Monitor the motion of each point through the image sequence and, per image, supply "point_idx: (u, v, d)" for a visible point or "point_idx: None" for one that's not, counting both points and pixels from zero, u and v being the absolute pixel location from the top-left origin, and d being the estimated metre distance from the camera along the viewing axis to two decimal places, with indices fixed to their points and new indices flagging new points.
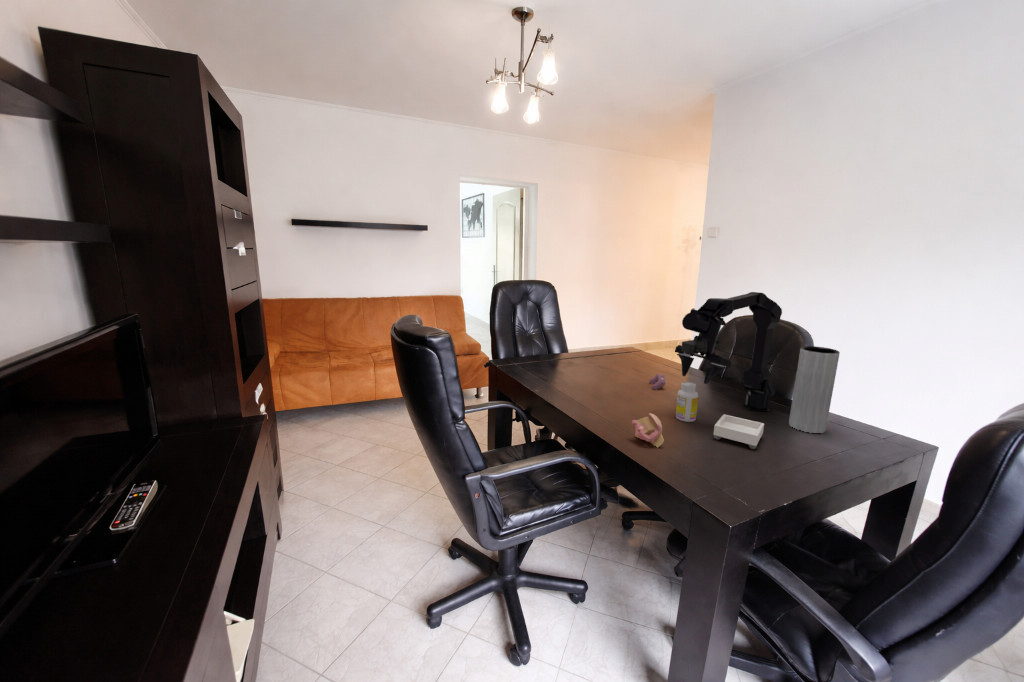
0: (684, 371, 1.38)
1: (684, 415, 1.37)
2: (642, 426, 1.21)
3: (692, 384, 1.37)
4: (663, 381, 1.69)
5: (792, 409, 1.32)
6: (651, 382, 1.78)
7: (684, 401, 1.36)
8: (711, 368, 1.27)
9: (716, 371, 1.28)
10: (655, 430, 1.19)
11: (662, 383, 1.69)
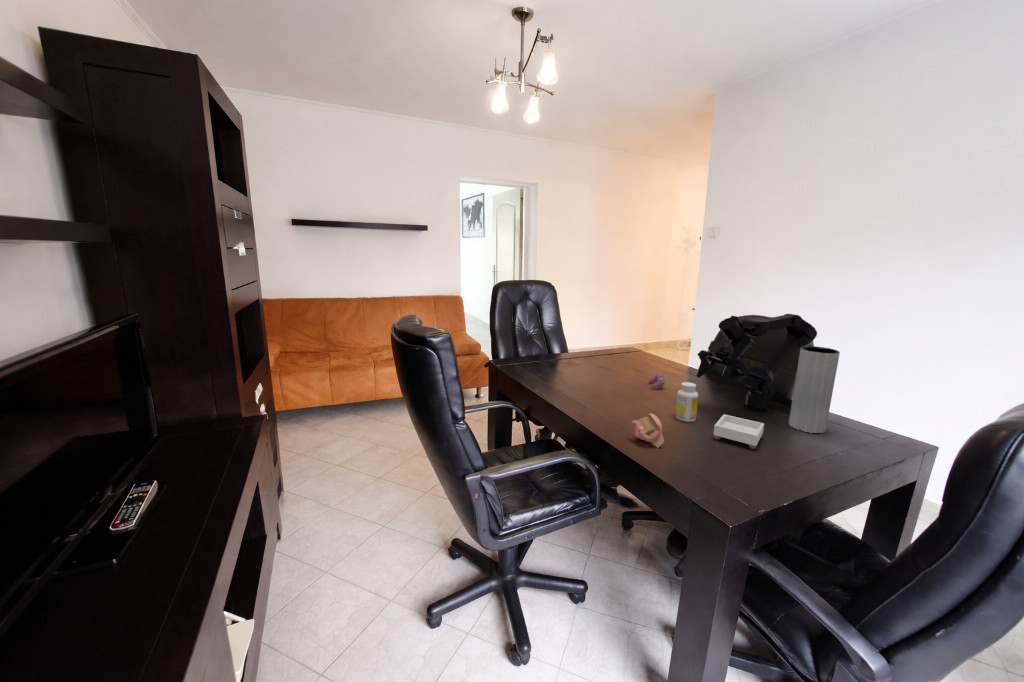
0: (700, 373, 1.43)
1: (684, 415, 1.37)
2: (642, 426, 1.21)
3: (692, 384, 1.37)
4: (662, 381, 1.69)
5: (792, 409, 1.32)
6: (650, 382, 1.78)
7: (684, 401, 1.36)
8: (729, 371, 1.33)
9: (732, 377, 1.34)
10: (655, 430, 1.19)
11: (661, 383, 1.69)
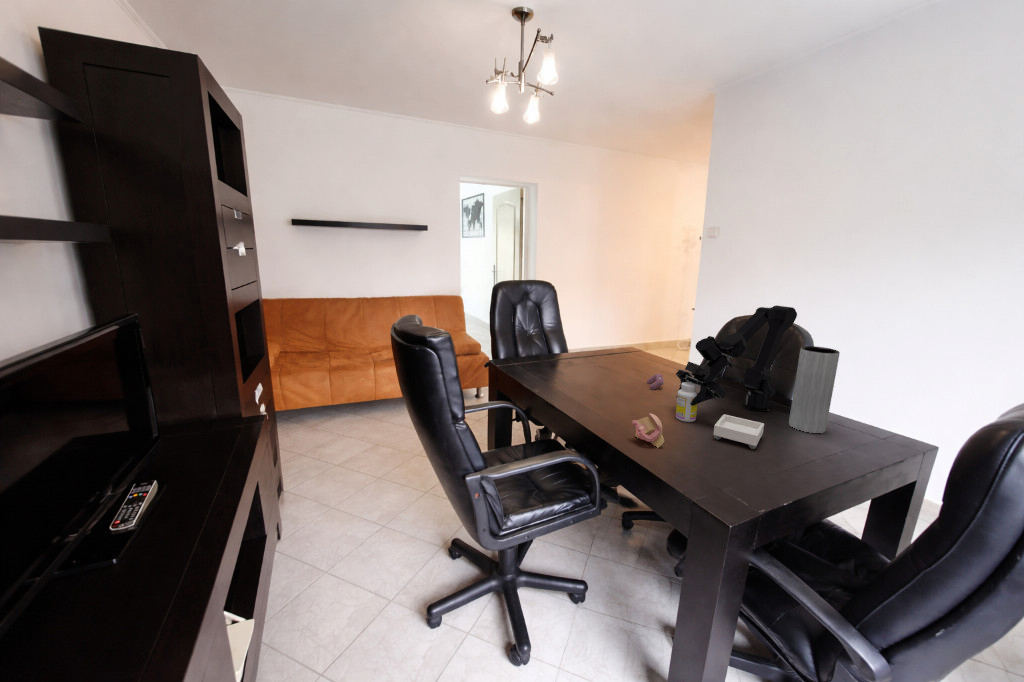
0: None
1: (684, 415, 1.37)
2: (642, 426, 1.21)
3: (692, 384, 1.37)
4: (661, 381, 1.69)
5: (792, 409, 1.32)
6: (649, 382, 1.78)
7: (684, 401, 1.36)
8: (703, 391, 1.33)
9: (705, 398, 1.34)
10: (655, 430, 1.19)
11: (660, 383, 1.69)
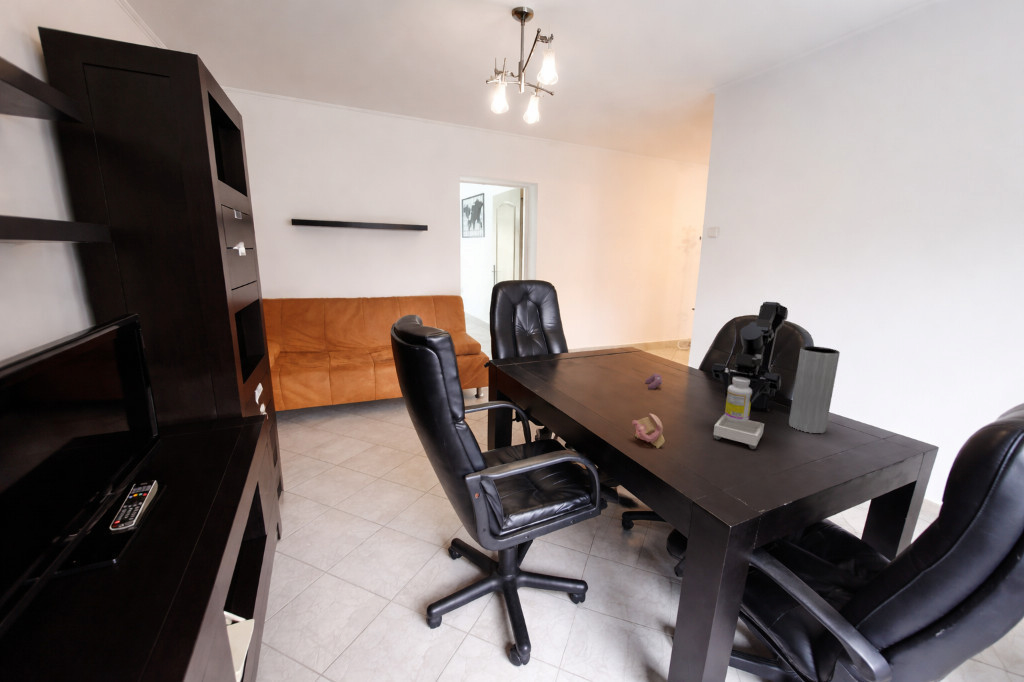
0: None
1: (742, 414, 1.20)
2: (643, 426, 1.21)
3: (745, 378, 1.21)
4: (659, 381, 1.69)
5: (792, 409, 1.32)
6: (647, 382, 1.78)
7: (743, 399, 1.19)
8: (761, 385, 1.19)
9: (760, 391, 1.21)
10: (656, 430, 1.19)
11: (658, 383, 1.69)
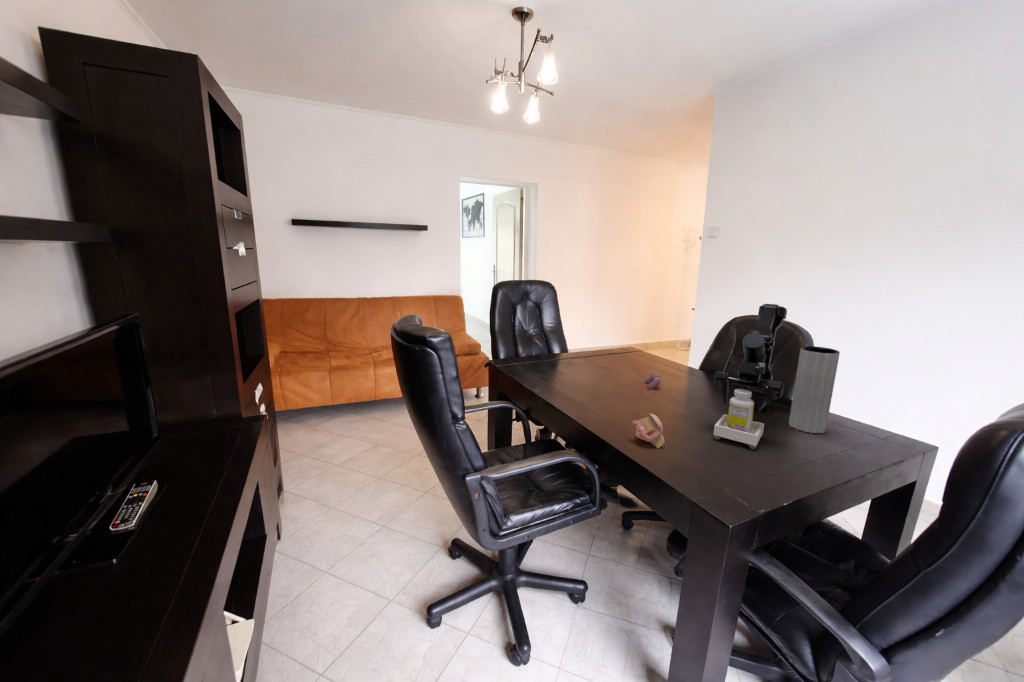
0: (726, 398, 1.24)
1: (745, 427, 1.20)
2: (643, 426, 1.21)
3: (747, 391, 1.22)
4: (658, 381, 1.69)
5: (792, 409, 1.32)
6: (646, 382, 1.78)
7: (746, 412, 1.19)
8: (769, 394, 1.18)
9: (767, 400, 1.20)
10: (656, 430, 1.19)
11: (657, 383, 1.69)
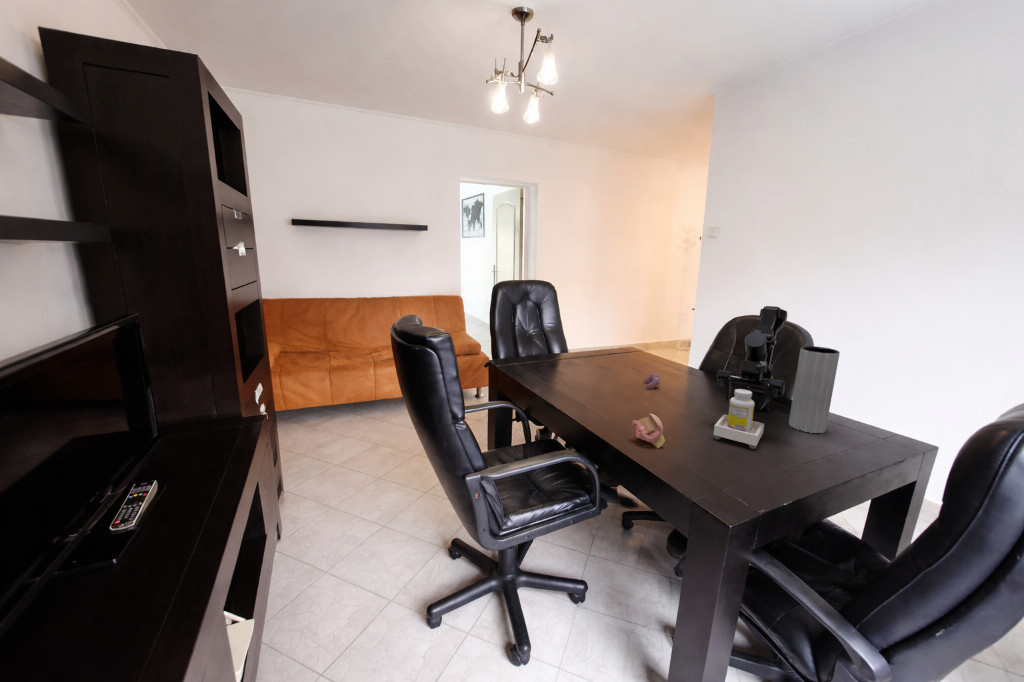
0: (728, 396, 1.27)
1: (745, 427, 1.20)
2: (643, 426, 1.21)
3: (747, 391, 1.22)
4: (657, 381, 1.69)
5: (792, 409, 1.32)
6: (646, 382, 1.78)
7: (746, 411, 1.19)
8: (770, 392, 1.21)
9: (769, 398, 1.23)
10: (656, 430, 1.19)
11: (656, 383, 1.69)
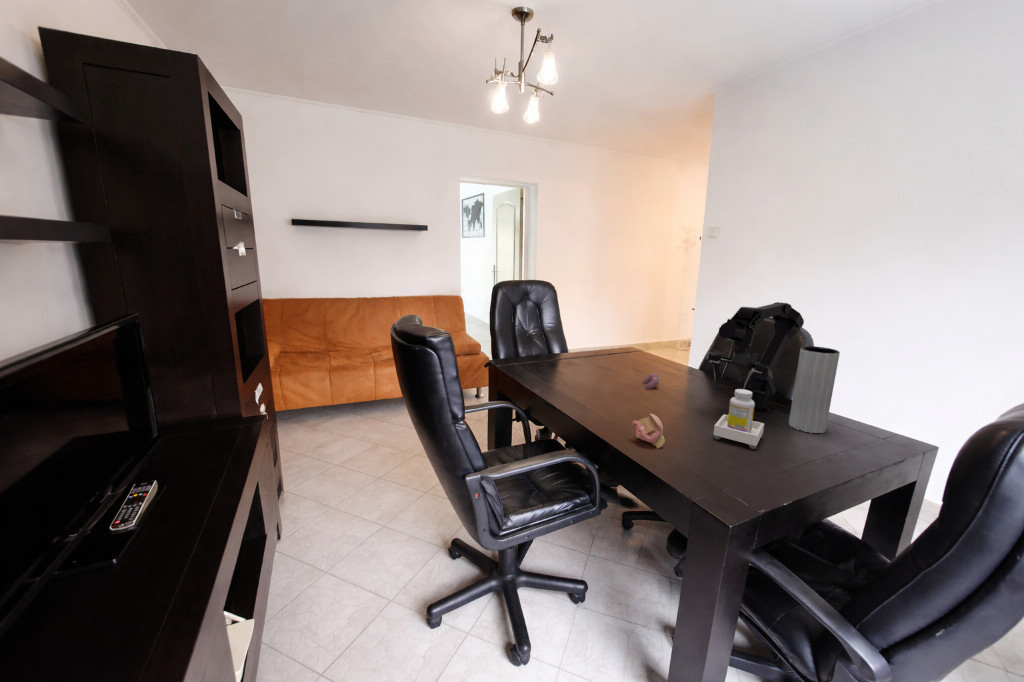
0: None
1: (745, 427, 1.20)
2: (643, 427, 1.21)
3: (747, 391, 1.22)
4: (657, 381, 1.69)
5: (792, 409, 1.32)
6: (645, 382, 1.78)
7: (746, 412, 1.19)
8: (755, 376, 1.35)
9: None
10: (656, 430, 1.19)
11: (656, 383, 1.69)
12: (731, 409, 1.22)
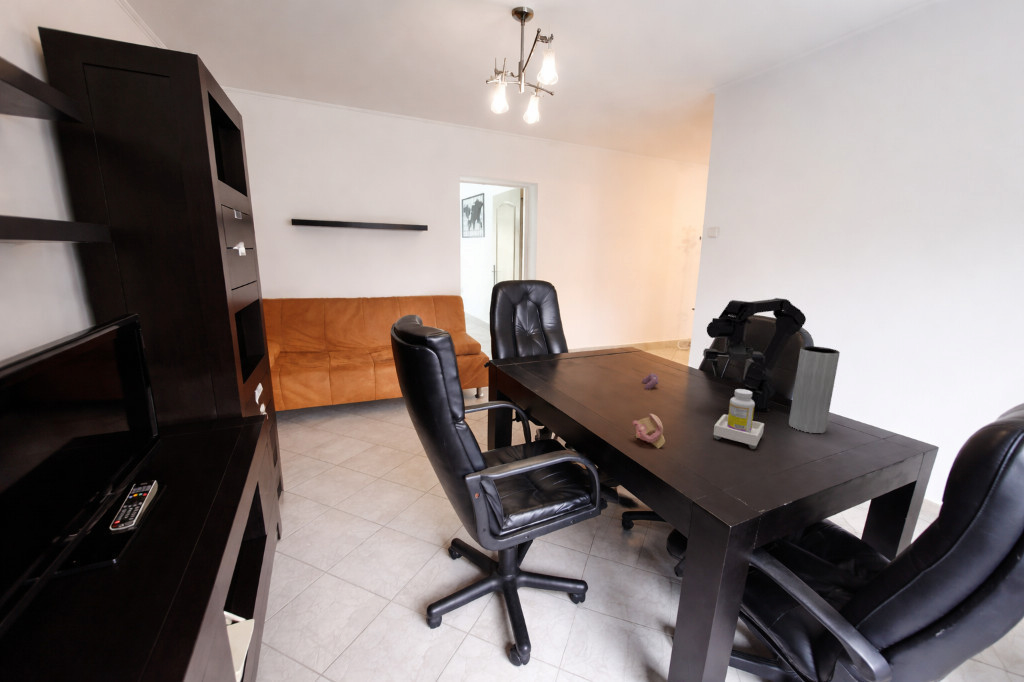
0: None
1: (745, 427, 1.20)
2: (643, 427, 1.21)
3: (747, 391, 1.22)
4: (656, 381, 1.69)
5: (792, 409, 1.32)
6: (644, 382, 1.78)
7: (746, 412, 1.19)
8: (753, 366, 1.38)
9: None
10: (656, 430, 1.19)
11: (655, 382, 1.69)
12: (731, 409, 1.22)
